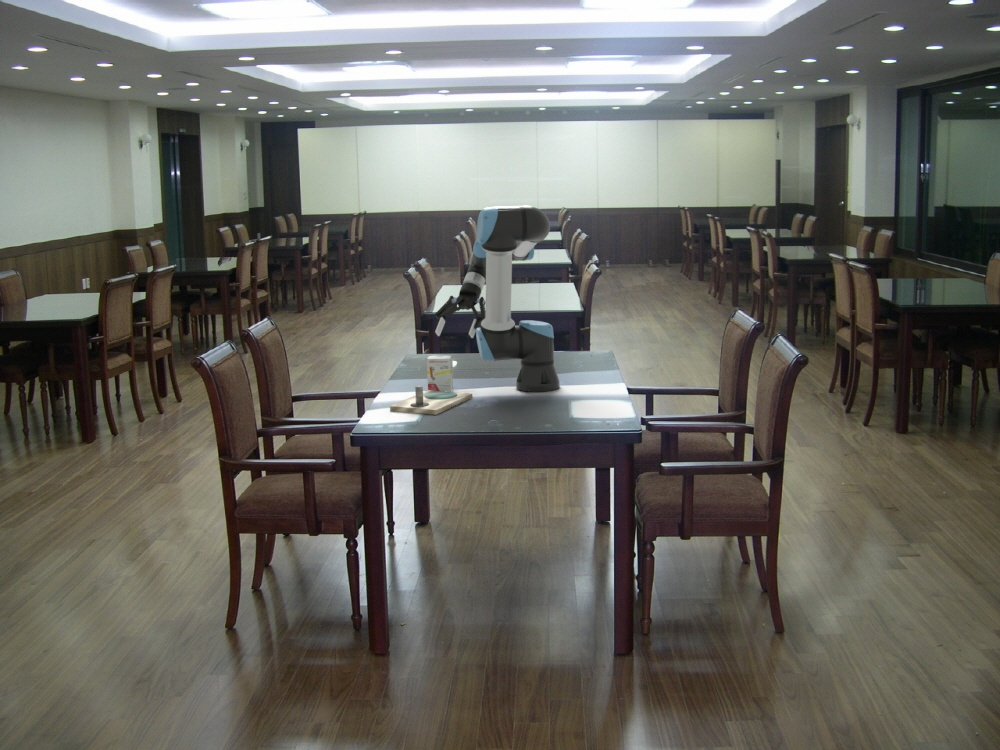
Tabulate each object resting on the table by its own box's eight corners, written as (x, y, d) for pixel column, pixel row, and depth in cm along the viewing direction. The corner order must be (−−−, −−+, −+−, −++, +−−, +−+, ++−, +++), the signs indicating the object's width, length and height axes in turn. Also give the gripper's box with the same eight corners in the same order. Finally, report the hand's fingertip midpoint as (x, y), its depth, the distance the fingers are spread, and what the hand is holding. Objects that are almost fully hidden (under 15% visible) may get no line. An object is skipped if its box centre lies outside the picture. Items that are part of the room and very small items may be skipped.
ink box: (427, 391, 366) (425, 358, 363) (429, 388, 370) (428, 355, 368) (451, 391, 365) (450, 357, 362) (453, 388, 369) (452, 355, 367)
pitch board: (472, 397, 354) (471, 375, 352) (436, 414, 332) (435, 391, 330) (428, 394, 361) (427, 372, 360) (390, 410, 339) (388, 387, 338)
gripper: (506, 295, 382) (488, 342, 372) (446, 292, 393) (427, 339, 383) (499, 282, 376) (481, 330, 366) (438, 280, 387) (419, 327, 377)
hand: (453, 335), depth 375 cm, fingers open, 13 cm apart
